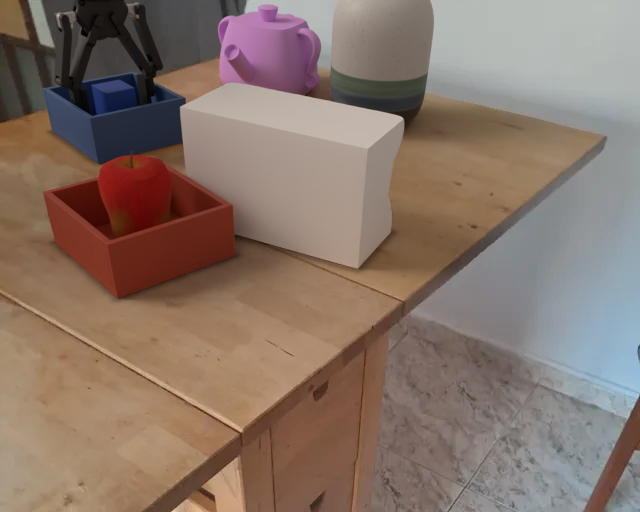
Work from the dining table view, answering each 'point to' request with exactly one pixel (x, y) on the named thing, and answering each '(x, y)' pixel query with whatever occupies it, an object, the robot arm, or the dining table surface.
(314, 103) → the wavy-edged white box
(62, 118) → the blue bin
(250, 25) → the teapot
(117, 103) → the block
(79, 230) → the red bin
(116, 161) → the apple
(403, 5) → the vase
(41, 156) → the dining table surface
